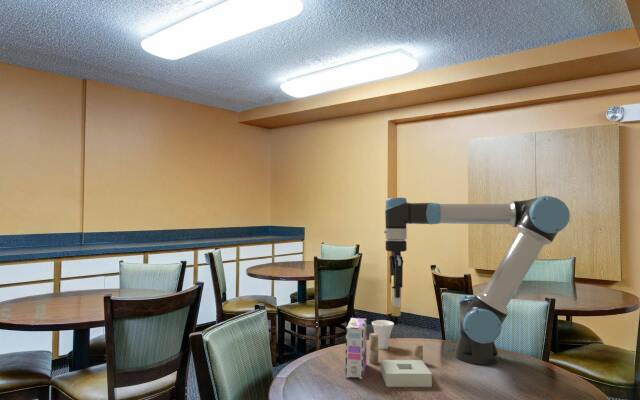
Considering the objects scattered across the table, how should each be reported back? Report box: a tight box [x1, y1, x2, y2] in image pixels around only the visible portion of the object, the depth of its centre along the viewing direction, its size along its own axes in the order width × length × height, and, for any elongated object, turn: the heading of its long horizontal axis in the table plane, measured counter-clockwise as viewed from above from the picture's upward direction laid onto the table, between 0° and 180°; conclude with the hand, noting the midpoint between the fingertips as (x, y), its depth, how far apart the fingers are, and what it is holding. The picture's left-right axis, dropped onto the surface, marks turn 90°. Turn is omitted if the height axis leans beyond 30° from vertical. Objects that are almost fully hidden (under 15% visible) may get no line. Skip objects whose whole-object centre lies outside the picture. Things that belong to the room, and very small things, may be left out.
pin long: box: [390, 276, 402, 317], centre depth 150 cm, size 3×3×14 cm
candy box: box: [345, 317, 367, 380], centre depth 141 cm, size 14×6×16 cm, turn 168°
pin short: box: [413, 343, 424, 362], centre depth 150 cm, size 3×3×6 cm
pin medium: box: [368, 332, 379, 365], centre depth 149 cm, size 3×3×10 cm
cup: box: [371, 319, 395, 350], centre depth 166 cm, size 9×9×10 cm
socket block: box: [380, 359, 433, 388], centre depth 134 cm, size 14×12×4 cm
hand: (396, 305), depth 150 cm, fingers closed on pin long, 3 cm apart
